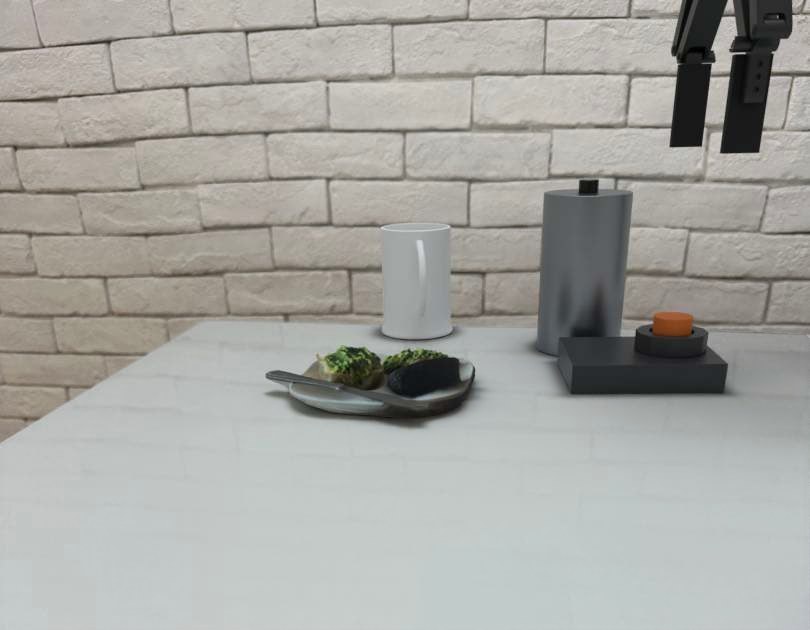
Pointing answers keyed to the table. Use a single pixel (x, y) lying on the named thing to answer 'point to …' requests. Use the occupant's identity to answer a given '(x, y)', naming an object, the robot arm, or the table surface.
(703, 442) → the table surface
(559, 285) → the grey canister
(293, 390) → the salad plate
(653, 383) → the dark grey button base
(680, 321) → the kettle button
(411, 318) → the mug
